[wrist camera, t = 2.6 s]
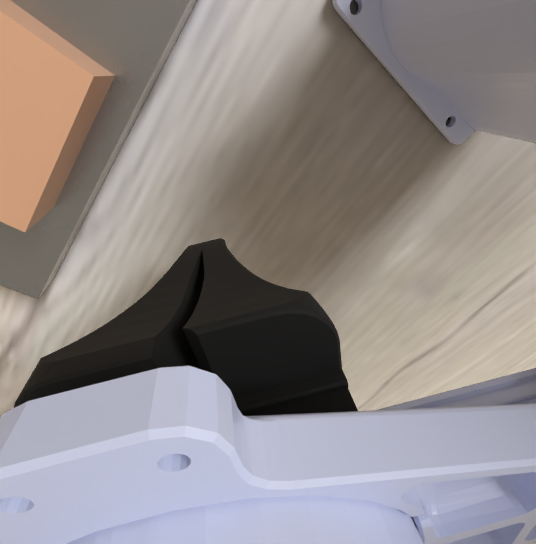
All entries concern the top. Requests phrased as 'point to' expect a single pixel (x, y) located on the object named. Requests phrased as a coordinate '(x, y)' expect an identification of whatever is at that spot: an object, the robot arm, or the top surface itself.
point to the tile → (41, 113)
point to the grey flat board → (107, 125)
